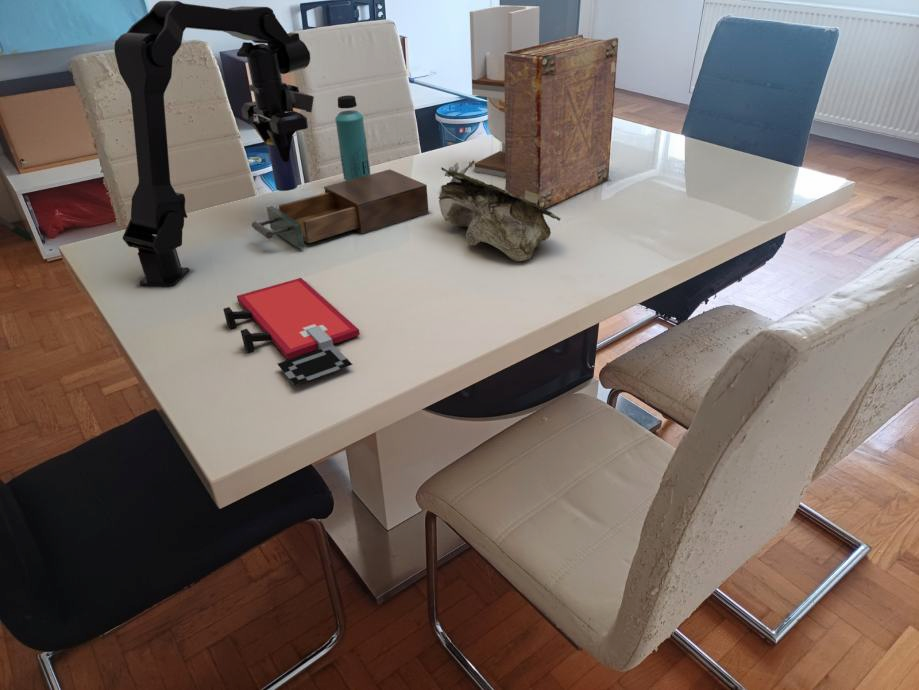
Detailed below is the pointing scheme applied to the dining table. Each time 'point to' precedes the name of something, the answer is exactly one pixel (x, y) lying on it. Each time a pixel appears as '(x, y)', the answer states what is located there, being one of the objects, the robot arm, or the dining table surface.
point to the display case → (498, 64)
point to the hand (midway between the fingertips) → (281, 159)
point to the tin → (282, 169)
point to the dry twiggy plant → (460, 171)
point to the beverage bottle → (352, 140)
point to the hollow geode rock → (494, 216)
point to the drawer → (310, 219)
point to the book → (559, 117)
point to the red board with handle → (296, 328)
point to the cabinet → (383, 199)
